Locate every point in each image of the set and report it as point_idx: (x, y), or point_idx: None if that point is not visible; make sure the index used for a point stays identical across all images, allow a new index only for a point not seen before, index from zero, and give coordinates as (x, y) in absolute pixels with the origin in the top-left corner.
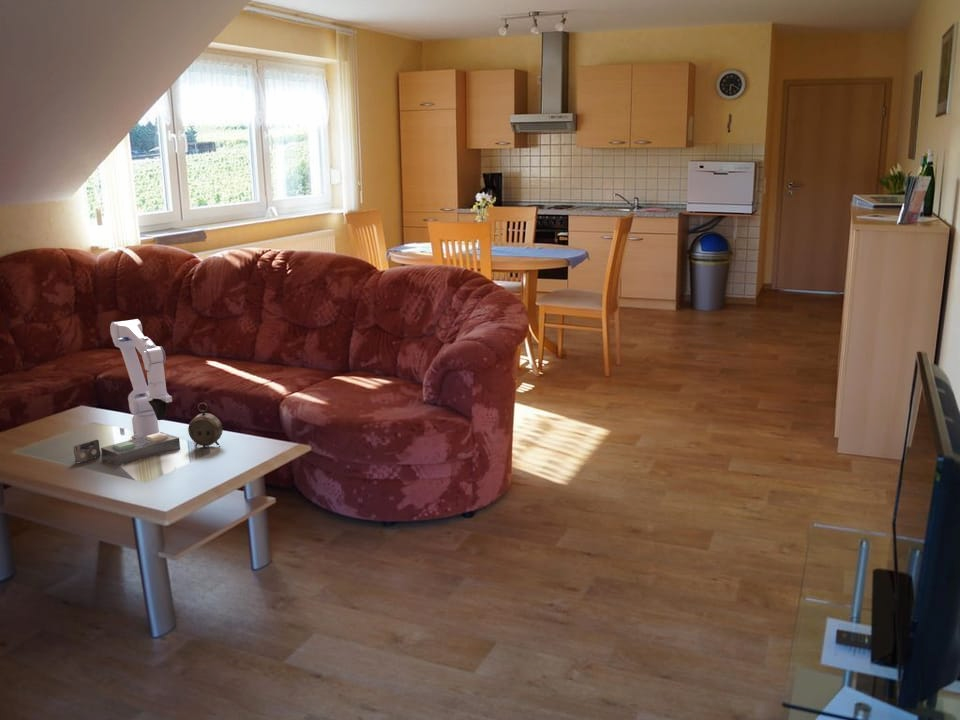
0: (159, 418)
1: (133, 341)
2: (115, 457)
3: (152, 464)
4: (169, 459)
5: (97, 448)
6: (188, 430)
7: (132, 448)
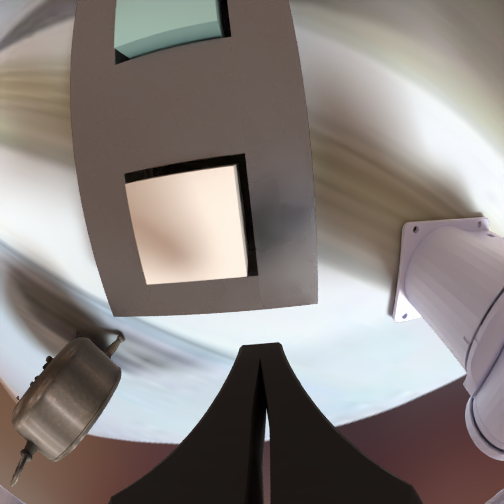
0: (236, 359)
1: None
2: None
3: (28, 119)
4: (35, 191)
5: None
6: (61, 360)
7: (99, 40)
